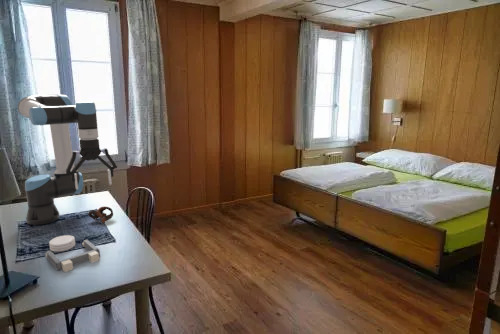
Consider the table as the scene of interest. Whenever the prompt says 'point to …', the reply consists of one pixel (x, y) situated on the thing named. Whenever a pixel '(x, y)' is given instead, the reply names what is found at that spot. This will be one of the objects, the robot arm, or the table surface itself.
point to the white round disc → (62, 243)
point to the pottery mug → (101, 214)
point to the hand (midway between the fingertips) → (93, 186)
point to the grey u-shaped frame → (75, 257)
